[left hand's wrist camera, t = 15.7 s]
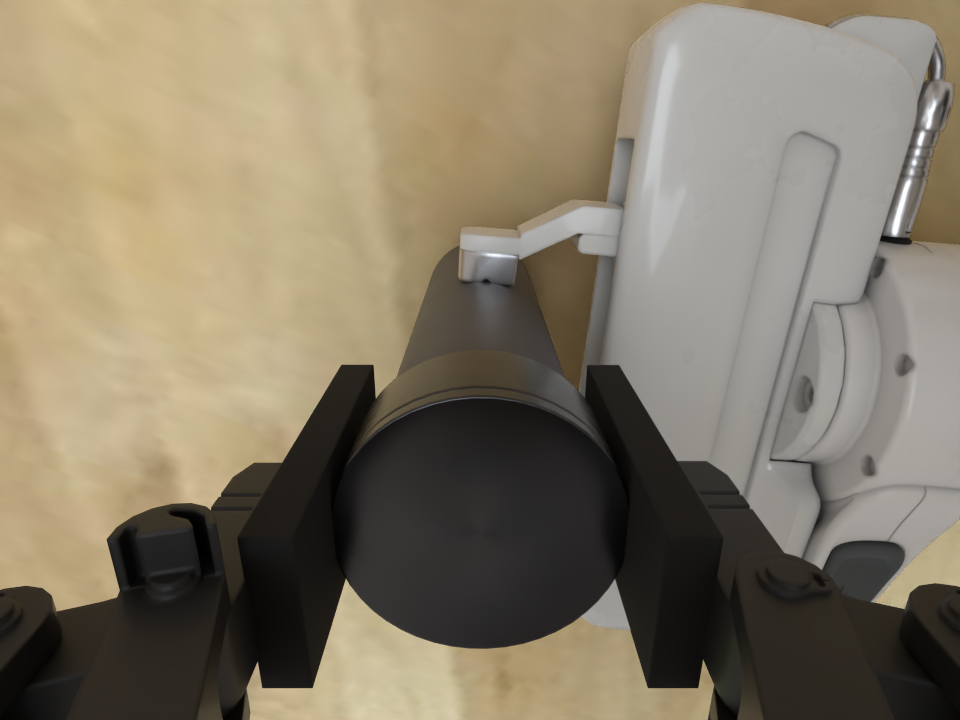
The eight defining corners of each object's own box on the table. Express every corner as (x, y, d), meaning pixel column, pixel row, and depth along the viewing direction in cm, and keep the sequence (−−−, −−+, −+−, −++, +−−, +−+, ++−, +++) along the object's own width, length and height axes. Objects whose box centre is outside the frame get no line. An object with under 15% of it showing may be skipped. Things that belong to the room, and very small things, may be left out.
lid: (586, 575, 13) (606, 657, 11) (354, 560, 13) (329, 640, 11) (625, 358, 12) (657, 408, 9) (356, 338, 11) (328, 383, 9)
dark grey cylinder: (423, 332, 27) (346, 596, 11) (436, 233, 25) (368, 384, 10) (521, 347, 27) (575, 625, 12) (540, 250, 26) (631, 421, 10)
